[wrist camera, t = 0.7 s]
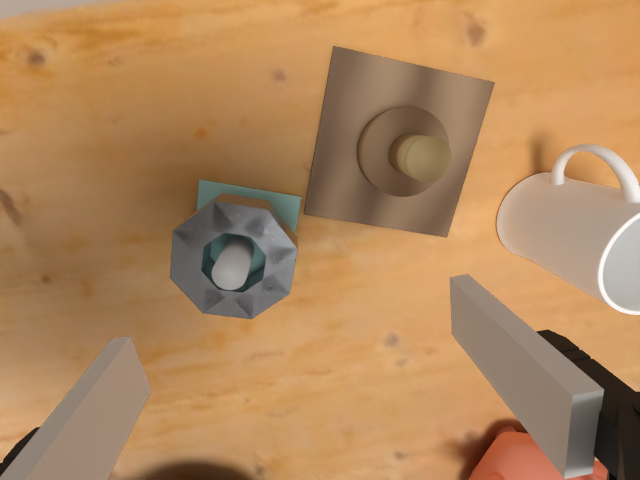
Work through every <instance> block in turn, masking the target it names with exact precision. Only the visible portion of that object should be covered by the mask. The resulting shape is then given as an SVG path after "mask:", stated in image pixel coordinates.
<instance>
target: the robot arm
mask: <svg viewBox="0 0 640 480" xmlns="http://www.w3.org/2000/svg"><path fill="white" fill-rule="evenodd" d="M450 299H451V325H452V335H453V336H454V337H455V339H456V340H457V341H458V343H459V344H460V345H461V346H462V348H463V349H464V350H465V352H466V353H467V354H468V355H469V357H470V358H471V359H472V361H473V362H474V363H475V365H476V366H477V367H478V368H479V370H480V371H481V372H482V374H483V375H484V376H485V377H486V379H487V380H488V381H489V383H490V384H491V385H492V387H493V388H494V389H495V390H496V392H497V393H498V394H499V396H500V397H501V398H502V399H503V401H504V402H505V403H506V405H507V406H508V407H509V408H510V410H511V411H512V412H513V414H514V415H515V416H516V418H517V419H518V420H519V421H520V423H521V424H522V425H523V427H524V428H525V429H526V430H527V432H528V433H529V434H530V436H531V437H532V438H533V439H534V441H535V442H536V443H537V445H538V446H539V447H540V449H541V450H542V451H543V452H544V454H545V455H546V456H547V458H548V459H549V460H550V461H551V463H552V464H553V465H554V467H555V468H556V469H557V470H558V472H559V473H560V474H561V476H562V477H563V478H564V479H568V478H573V477H578V476H582V475H587V474H592V473H593V466H594V459H595V457H596V458H597V459H598V460H599V461H600V462H601V463H602V464H603V465H604V466H605V468H606V469H607V470H608V473H607V479H606V480H640V392H635V391H634V390H633V389H631V388H630V387H629V386H627V385H626V384H625V383H624V382H622V381H621V380H620V379H618V378H617V377H616V376H615V375H613V374H612V373H611V372H609V371H608V370H607V369H606V368H604V367H603V366H602V365H600V364H599V363H598V362H597V361H595V360H594V359H591V358H590V356H589V355H588V354H586V353H585V352H584V351H582V350H579V347H577V346H576V345H575V344H573V343H572V342H571V341H570V340H568V339H567V338H566V337H564V336H561V335H559V334H557V333H555V332H552V331H550V330H543V331H537V332H536V331H534V330H533V329H532V328H531V327H530V326H528V325H527V324H526V323H525V322H524V321H523V320H521V319H520V318H519V317H518V316H517V315H515V314H514V313H513V312H512V311H511V310H510V309H508V308H507V307H506V306H505V305H504V304H502V303H501V302H500V301H499V300H498V299H497V298H495V297H494V296H493V295H492V294H491V293H489V292H488V291H487V290H486V289H485V288H484V287H482V286H481V285H480V284H479V283H478V282H476V281H475V280H474V279H473V278H472V277H471V276H469V275H468V274H465V275H460V276H455V277H450ZM151 391H152V390H151V387H150V385H149V382H148V380H147V377H146V374H145V372H144V369H143V367H142V364H141V362H140V359H139V357H138V354H137V351H136V349H135V346H134V344H133V341H132V339H131V336H127V337H122V338H116V339H111V340H110V342H109V343H108V344H107V345H106V346H105V348H104V349H103V350H102V351H101V353H100V354H99V355H98V356H97V358H96V359H95V360H94V361H93V363H92V364H91V365H90V366H89V368H88V369H87V370H86V371H85V372H84V374H83V375H82V376H81V377H80V379H79V380H78V381H77V382H76V384H75V385H74V386H73V387H72V389H71V390H70V391H69V392H68V394H67V395H66V396H65V397H64V399H63V400H62V401H61V402H60V403H59V405H58V406H57V407H56V408H55V410H54V411H53V412H52V413H51V415H50V416H49V417H48V418H47V420H46V421H45V422H44V423H43V425H42V426H41V427H38V428H35V429H34V430H32V431H31V432H30V433H29V434H28V435H26V436H25V437H24V438H23V439H22V440H20V441H19V442H18V443H17V444H16V445H15V446H14V448H13V449H12V450H11V451H10V452H9V453H8V455H7V456H6V457H5V458H4V459H3V463H0V480H107V479H108V477H109V475H110V473H111V471H112V469H113V467H114V465H115V463H116V461H117V459H118V457H119V455H120V453H121V451H122V449H123V447H124V445H125V443H126V441H127V439H128V437H129V435H130V433H131V431H132V429H133V427H134V425H135V423H136V421H137V419H138V417H139V415H140V413H141V411H142V409H143V407H144V405H145V403H146V401H147V399H148V397H149V395H150V393H151Z"/></svg>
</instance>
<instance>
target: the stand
mask: <svg viewBox="0 0 640 480" xmlns="http://www.w3.org/2000/svg"><path fill="white" fill-rule="evenodd" d="M221 193H226V194H232V195H238V196H244V197H250V198H256V199H262V200H268V201H270V202H271V203H272V204H273V206H274V207H275V208H276V210H277V211H278V212H279V214H280V215H281V216H282V218H283V219H284V220H285V222H286V223H287V224H288V226H289V227H290V228H291V230H292V231H293V232H294V234H295V231H296V226H297V220H298V214H299V208H300V202H301V196H296V195H290V194H284V193H278V192H272V191H266V190H261V189H255V188H249V187H243V186H237V185H231V184H225V183H219V182H213V181H208V180H202V179H200V180H199V188H198V199H197V211H198V210H199V209H201V208H202V207H203V206H205V205H206V204H207V203H209V202H210V201H212V200H213V199H214V198H216V197H217V196H219V195H220V194H221ZM210 257H211V258H212V259H213V260H214V262H215V265H214V266H213V269H212V279H213V281H214V282H215V284H216V285H217V286H219V287H220V288H222V289H225V290H235V289H238V288H240V287H241V286H242V285H243V284H244V283H245V281H246V278H247V277H248V276H249V275H251V274H252V273H254V272H255V271H257V270H258V269H260V268H261V267H263V266H264V265H265V263H266V255H265V254H264V253H263V251H262V250H261V249H260V248H259V246H258V245H257V244H256V243H255V241H254V240H253V239H252V238H251V237H250V236H244V235H237V234H231V233H223V234H221V235H220V236H218V237H217V238H216V239H214V240H213V241H212V242H211V252H210Z"/></svg>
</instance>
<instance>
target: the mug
mask: <svg viewBox="0 0 640 480" xmlns="http://www.w3.org/2000/svg"><path fill="white" fill-rule="evenodd" d="M579 151H586V152H590V153H593V154H595V155H597V156H598V157H600V158H601V159H603V160H604V161H605V162H606V163H607V164H608V165H609V166H610V167H611V169H612V170H613V171H614V173H615V175H616V176H617V178H618V180H619V183H620V185H621V189H619V188H614V187H609V186H604V185H599V184H594V183H589V182H584V181H579V180H575V179H570V178H568V177H566V176H564V170H565V166H566V163H567V161H568V160H569V158H570V157H571V156H572V155H573V154H574V153H576V152H579ZM496 227H497V233H498V236H499V239H500V241H501V243H502V244H503V245H504V247H505V248H506V249H507V250H509V251H510V252H511V253H513V254H515V255H517V256H520V257H524V258H527V259H529V260H530V261H532V262H534V263H536V264H537V265H539V266H541V267H543V268H544V269H546V270H548V271H549V272H551V273H553V274H555V275H556V276H558V277H560V278H562V279H563V280H565V281H567V282H569V283H570V284H572V285H574V286H576V287H577V288H579V289H581V290H582V291H584V292H586V293H588V294H589V295H591V296H593V297H595V298H596V299H598V300H600V301H602V302H603V303H605V304H607V305H608V306H610V307H612V308H614V309H616V310H618V311H620V312H623V313H627V314H633V315H640V186H639V183H638V181H637V179H636V177H635V175H634V173H633V172H632V170H631V169H630V167H629V166H628V165H627V164H626V163H625V161H624V160H623V159H622V158H620V157H619V156H618V155H617V154H616V153H614V152H613V151H611V150H609V149H607V148H605V147H603V146H600V145H596V144H580V145H576V146H573V147H570V148H568V149H567V150H565V151H564V152H562V153H561V154H560V155H559V157H558V158H557V159H556V161H555V163H554V165H553V168H552V171H551V172H545V173H539V174H535V175H532V176H530V177H527V178H525V179H524V180H522V181H521V182H519V183H518V184H516V185H515V186H514V187H513V188H512V189H511V190H510V191H509V192H508V194H507V195H506V196H505V198H504V200H503V201H502V203H501V205H500V208H499V211H498V214H497V221H496Z"/></svg>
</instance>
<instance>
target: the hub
mask: <svg viewBox="0 0 640 480" xmlns="http://www.w3.org/2000/svg"><path fill="white" fill-rule="evenodd" d="M494 84H495V83H494V82H490V81H486V80H481V79H477V78H473V77H468V76H464V75H459V74H455V73H451V72H446V71H442V70H437V69H433V68H429V67H424V66H420V65H415V64H411V63H407V62H402V61H398V60H393V59H389V58H385V57H380V56H376V55H372V54H367V53H363V52H358V51H354V50H350V49H345V48H341V47H336V46H334V47H333V52H332V57H331V63H330V69H329V74H328V80H327V86H326V91H325V97H324V103H323V108H322V114H321V119H320V125H319V131H318V136H317V142H316V148H315V153H314V159H313V165H312V170H311V176H310V181H309V187H308V193H307V198H306V204H305V210H304V214H306V215H312V216H318V217H324V218H331V219H337V220H343V221H349V222H355V223H361V224H367V225H373V226H379V227H386V228H392V229H398V230H404V231H410V232H416V233H422V234H428V235H434V236H441V237H447V236H448V232H449V229H450V226H451V223H452V219H453V216H454V213H455V210H456V206H457V203H458V200H459V197H460V193H461V190H462V187H463V184H464V181H465V177H466V174H467V171H468V168H469V164H470V161H471V158H472V155H473V151H474V148H475V145H476V142H477V139H478V135H479V132H480V129H481V126H482V122H483V119H484V116H485V113H486V109H487V106H488V103H489V100H490V96H491V93H492V90H493V87H494Z"/></svg>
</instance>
